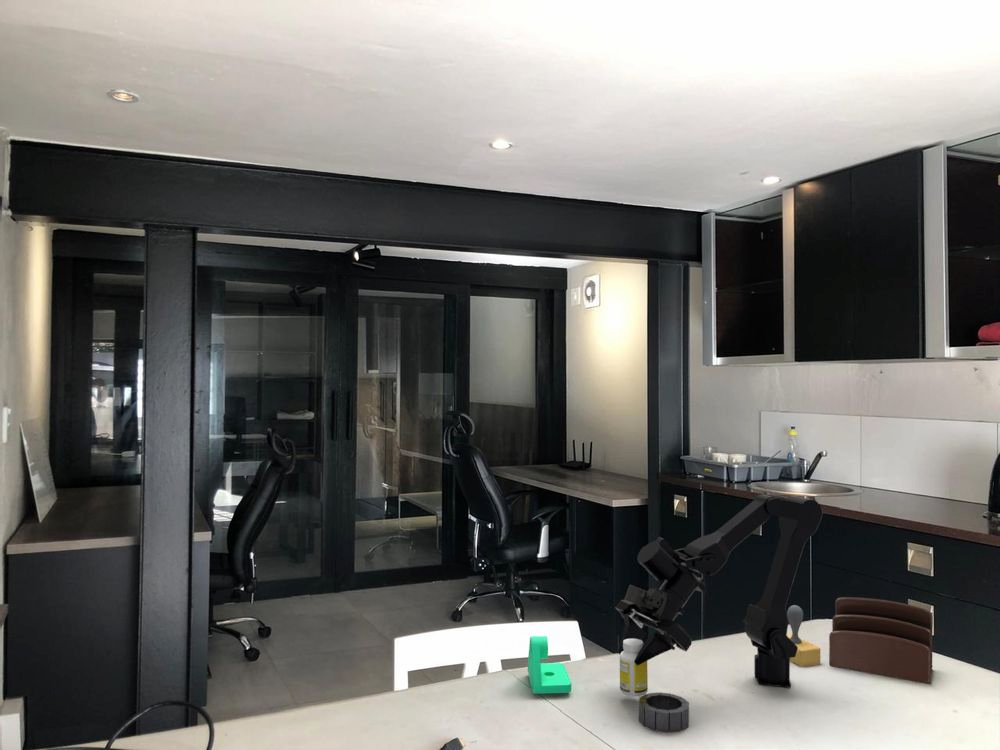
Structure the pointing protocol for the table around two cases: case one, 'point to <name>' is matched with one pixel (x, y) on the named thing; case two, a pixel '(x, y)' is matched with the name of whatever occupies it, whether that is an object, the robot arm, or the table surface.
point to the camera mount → (545, 669)
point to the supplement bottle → (632, 669)
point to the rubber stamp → (801, 640)
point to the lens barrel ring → (664, 712)
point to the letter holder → (882, 638)
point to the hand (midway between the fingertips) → (627, 658)
